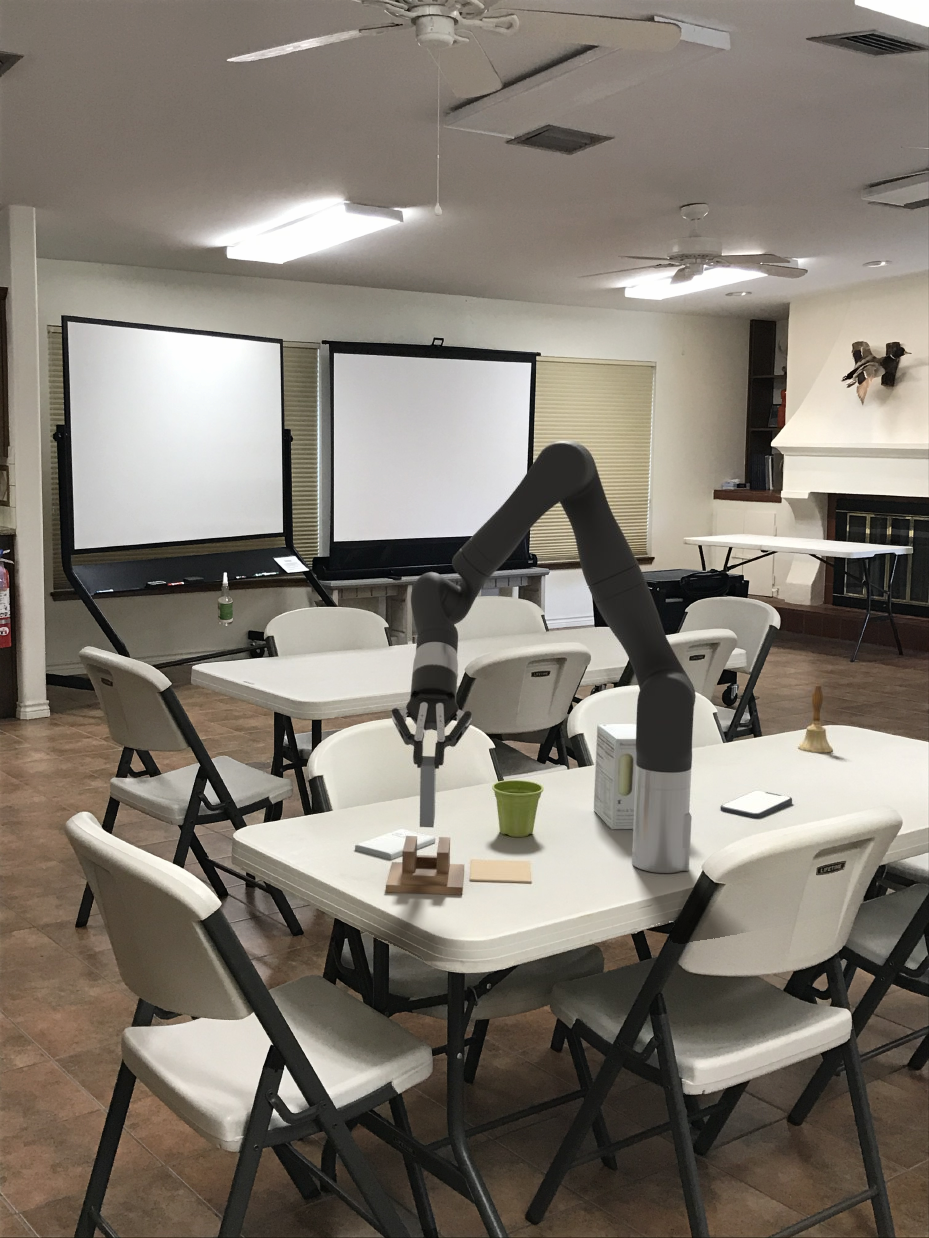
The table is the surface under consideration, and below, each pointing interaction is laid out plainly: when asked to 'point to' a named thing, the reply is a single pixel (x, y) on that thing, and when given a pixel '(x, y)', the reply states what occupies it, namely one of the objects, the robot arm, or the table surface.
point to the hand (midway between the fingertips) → (428, 765)
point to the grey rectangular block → (427, 791)
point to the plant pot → (517, 806)
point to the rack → (425, 871)
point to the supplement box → (615, 774)
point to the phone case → (756, 804)
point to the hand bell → (816, 728)
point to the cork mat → (500, 871)
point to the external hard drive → (392, 843)
